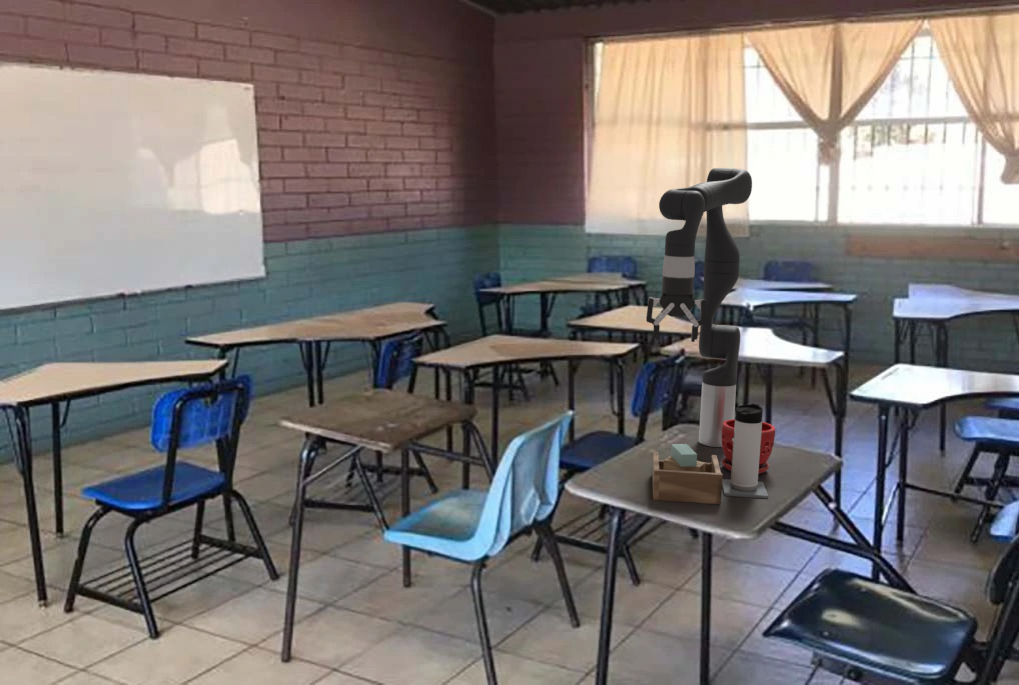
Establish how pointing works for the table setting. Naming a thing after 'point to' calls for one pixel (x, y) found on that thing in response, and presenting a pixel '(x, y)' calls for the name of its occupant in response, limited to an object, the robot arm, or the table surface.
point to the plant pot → (765, 445)
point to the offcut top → (683, 455)
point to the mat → (757, 493)
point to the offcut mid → (673, 465)
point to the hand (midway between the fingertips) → (674, 340)
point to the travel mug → (746, 447)
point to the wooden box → (687, 483)
